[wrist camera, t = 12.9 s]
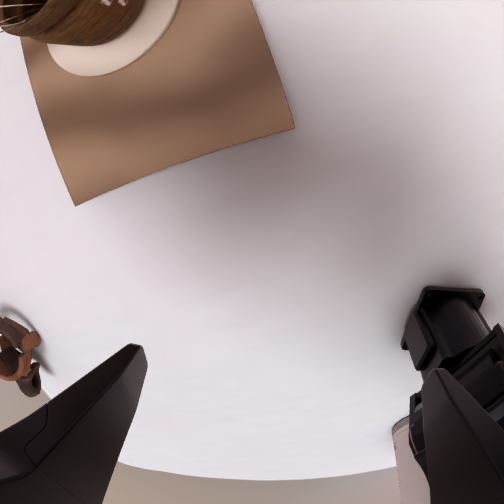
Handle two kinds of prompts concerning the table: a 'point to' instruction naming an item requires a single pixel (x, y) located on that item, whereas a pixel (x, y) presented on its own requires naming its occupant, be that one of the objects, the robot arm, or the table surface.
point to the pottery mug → (19, 357)
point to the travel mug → (409, 468)
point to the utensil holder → (69, 20)
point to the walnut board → (156, 93)
